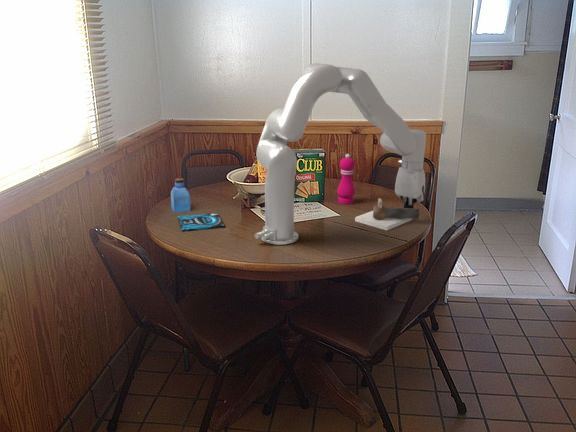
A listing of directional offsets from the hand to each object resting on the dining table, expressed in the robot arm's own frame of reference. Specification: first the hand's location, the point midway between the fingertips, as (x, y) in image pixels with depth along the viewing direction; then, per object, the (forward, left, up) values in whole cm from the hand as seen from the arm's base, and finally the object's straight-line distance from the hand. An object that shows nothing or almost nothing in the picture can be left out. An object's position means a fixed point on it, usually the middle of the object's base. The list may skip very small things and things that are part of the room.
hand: (408, 214), depth 196 cm
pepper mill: (+2, +30, -3) cm, 31 cm away
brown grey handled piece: (-5, +2, -1) cm, 6 cm away
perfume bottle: (-51, +69, -3) cm, 86 cm away
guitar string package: (-55, +51, -3) cm, 75 cm away
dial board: (-6, +6, -3) cm, 9 cm away
